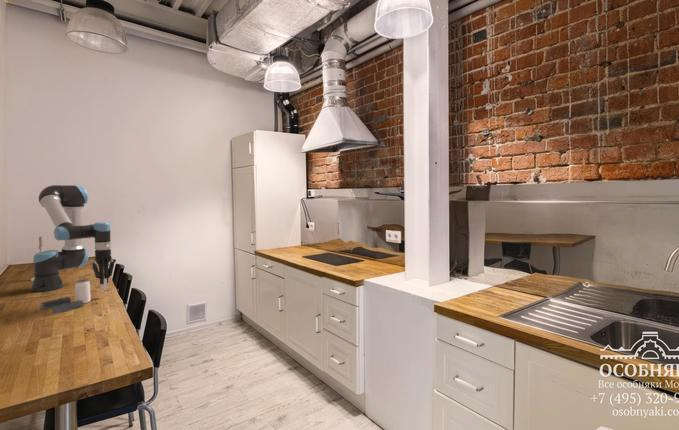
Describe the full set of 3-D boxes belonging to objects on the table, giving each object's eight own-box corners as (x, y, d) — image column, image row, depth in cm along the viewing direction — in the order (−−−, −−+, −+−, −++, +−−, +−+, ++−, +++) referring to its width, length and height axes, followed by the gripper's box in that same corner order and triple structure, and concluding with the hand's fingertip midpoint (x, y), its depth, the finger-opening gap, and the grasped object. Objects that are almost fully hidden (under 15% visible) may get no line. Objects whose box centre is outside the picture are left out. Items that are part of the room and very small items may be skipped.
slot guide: (40, 308, 172) (40, 303, 172) (67, 302, 183) (67, 296, 183) (55, 313, 166) (55, 307, 166) (82, 306, 177) (82, 301, 176)
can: (93, 301, 185) (92, 280, 184) (80, 304, 179) (79, 283, 178) (86, 299, 188) (85, 278, 187) (73, 303, 182) (72, 281, 181)
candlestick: (28, 278, 229) (26, 235, 227) (53, 275, 239) (51, 234, 237) (31, 282, 221) (29, 237, 219) (56, 278, 231) (54, 235, 229)
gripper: (94, 251, 184) (95, 293, 186) (118, 248, 196) (119, 287, 197) (86, 250, 187) (88, 291, 189) (111, 246, 199) (112, 285, 201)
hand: (104, 289), depth 193 cm, fingers closed
